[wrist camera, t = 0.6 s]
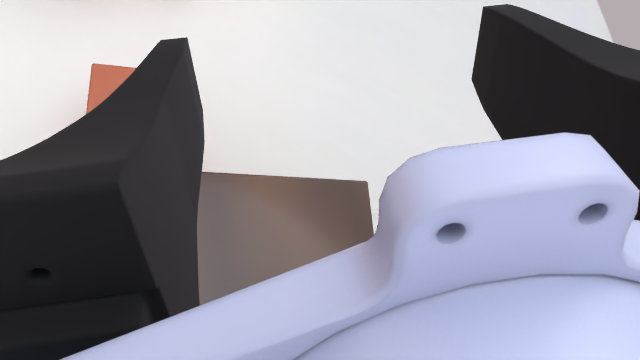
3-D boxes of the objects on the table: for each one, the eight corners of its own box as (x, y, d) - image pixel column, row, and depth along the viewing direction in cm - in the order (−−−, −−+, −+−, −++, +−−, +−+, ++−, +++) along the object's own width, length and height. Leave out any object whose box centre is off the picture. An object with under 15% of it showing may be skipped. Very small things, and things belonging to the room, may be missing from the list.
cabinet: (-15, 534, 22) (-79, 568, 15) (30, 229, 27) (-3, 159, 21) (339, 494, 26) (407, 508, 20) (319, 237, 31) (367, 180, 25)
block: (89, 187, 29) (81, 147, 25) (97, 110, 31) (91, 62, 27) (165, 190, 30) (169, 152, 26) (168, 116, 32) (173, 71, 28)
